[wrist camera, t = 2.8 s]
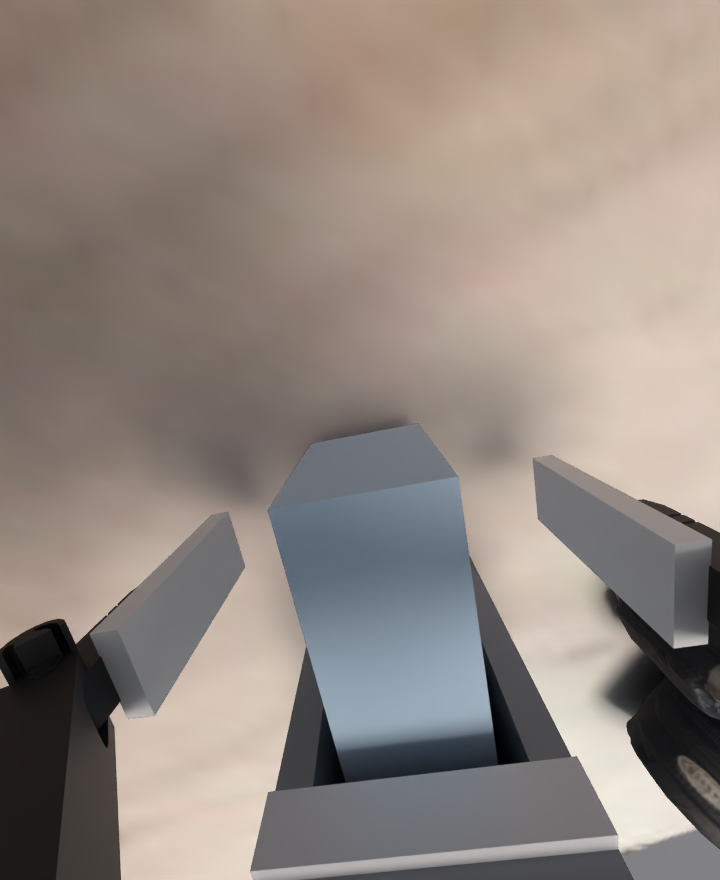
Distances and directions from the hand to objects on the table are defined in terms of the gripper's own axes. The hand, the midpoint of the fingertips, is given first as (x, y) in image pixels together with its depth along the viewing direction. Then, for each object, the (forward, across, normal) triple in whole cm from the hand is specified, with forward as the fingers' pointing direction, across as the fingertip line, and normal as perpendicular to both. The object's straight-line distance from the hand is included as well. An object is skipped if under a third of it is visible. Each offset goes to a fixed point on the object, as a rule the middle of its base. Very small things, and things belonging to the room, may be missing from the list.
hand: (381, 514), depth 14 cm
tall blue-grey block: (+2, 0, -6) cm, 6 cm away
